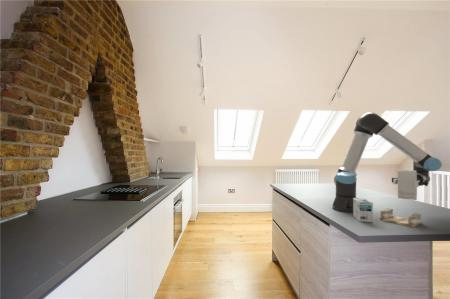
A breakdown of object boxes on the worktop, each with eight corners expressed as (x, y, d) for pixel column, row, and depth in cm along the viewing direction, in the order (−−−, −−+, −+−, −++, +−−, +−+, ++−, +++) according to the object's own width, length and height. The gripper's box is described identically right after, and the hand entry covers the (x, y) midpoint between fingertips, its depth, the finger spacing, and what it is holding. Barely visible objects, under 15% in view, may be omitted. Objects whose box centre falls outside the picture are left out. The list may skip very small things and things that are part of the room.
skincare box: (416, 198, 128) (417, 170, 128) (416, 200, 123) (417, 171, 123) (397, 196, 134) (398, 169, 133) (397, 198, 128) (397, 170, 128)
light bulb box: (373, 222, 122) (373, 202, 122) (359, 221, 123) (359, 201, 123) (365, 217, 132) (365, 198, 132) (352, 216, 134) (352, 197, 134)
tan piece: (379, 219, 127) (379, 210, 127) (388, 216, 134) (388, 207, 134) (413, 227, 115) (414, 217, 115) (421, 223, 122) (421, 213, 122)
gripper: (440, 188, 131) (430, 192, 117) (394, 183, 148) (381, 186, 134) (440, 175, 131) (430, 178, 117) (394, 172, 148) (381, 173, 134)
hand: (404, 182), depth 126 cm, fingers closed on skincare box, 9 cm apart
